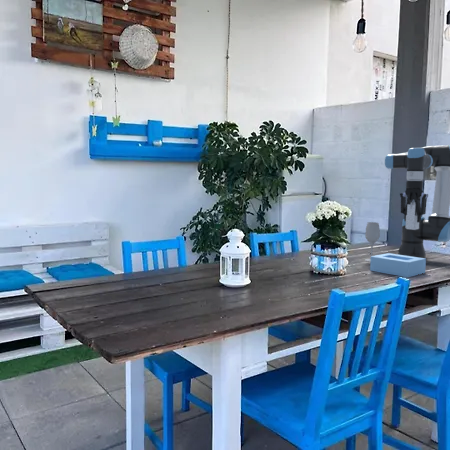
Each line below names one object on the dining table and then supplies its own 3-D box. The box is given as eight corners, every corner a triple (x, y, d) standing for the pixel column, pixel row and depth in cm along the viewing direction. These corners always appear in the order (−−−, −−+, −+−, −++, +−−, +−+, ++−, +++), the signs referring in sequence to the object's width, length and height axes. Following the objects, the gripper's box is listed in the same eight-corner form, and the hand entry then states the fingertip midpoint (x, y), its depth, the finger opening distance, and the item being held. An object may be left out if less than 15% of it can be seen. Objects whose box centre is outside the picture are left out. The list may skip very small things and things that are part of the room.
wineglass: (380, 261, 255) (382, 223, 253) (366, 261, 255) (367, 223, 253) (376, 259, 263) (377, 222, 260) (362, 259, 263) (364, 222, 261)
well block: (388, 266, 242) (388, 253, 242) (425, 272, 227) (426, 258, 226) (370, 270, 232) (370, 256, 231) (407, 277, 217) (408, 262, 216)
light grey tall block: (410, 228, 232) (411, 202, 231) (418, 229, 229) (419, 202, 228) (406, 228, 229) (407, 202, 228) (414, 229, 226) (415, 202, 225)
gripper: (394, 180, 231) (391, 227, 233) (428, 180, 218) (425, 230, 220) (402, 180, 236) (399, 226, 238) (435, 180, 223) (432, 229, 225)
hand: (412, 228), depth 229 cm, fingers closed on light grey tall block, 4 cm apart
